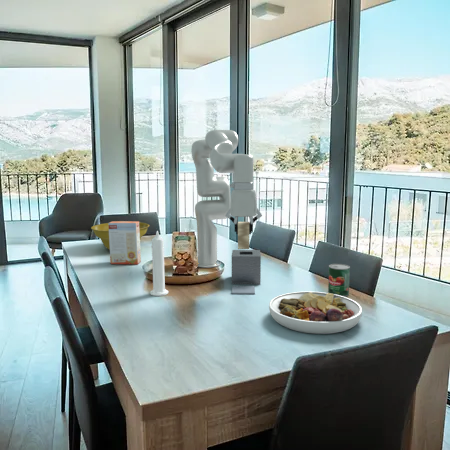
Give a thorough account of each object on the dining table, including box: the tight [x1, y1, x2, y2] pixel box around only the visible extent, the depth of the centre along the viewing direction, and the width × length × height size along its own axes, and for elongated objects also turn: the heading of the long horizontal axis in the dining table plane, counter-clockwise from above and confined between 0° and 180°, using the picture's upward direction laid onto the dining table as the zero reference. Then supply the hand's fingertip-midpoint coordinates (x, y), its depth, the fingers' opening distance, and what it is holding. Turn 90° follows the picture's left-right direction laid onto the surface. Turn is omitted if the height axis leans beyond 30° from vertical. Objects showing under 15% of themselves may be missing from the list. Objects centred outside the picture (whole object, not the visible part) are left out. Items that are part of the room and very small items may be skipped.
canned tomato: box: [327, 263, 351, 297], centre depth 176 cm, size 8×8×11 cm
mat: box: [231, 285, 256, 295], centre depth 181 cm, size 9×9×1 cm
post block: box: [231, 249, 262, 286], centre depth 194 cm, size 12×12×12 cm
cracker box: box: [107, 220, 142, 265], centre depth 224 cm, size 14×6×21 cm, turn 84°
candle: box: [149, 230, 169, 297], centre depth 176 cm, size 7×7×25 cm
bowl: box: [268, 291, 363, 335], centre depth 150 cm, size 30×30×8 cm
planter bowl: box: [90, 221, 150, 251], centre depth 257 cm, size 32×32×13 cm
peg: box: [237, 221, 250, 250], centre depth 177 cm, size 4×4×10 cm
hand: (243, 233), depth 177 cm, fingers closed on peg, 4 cm apart
